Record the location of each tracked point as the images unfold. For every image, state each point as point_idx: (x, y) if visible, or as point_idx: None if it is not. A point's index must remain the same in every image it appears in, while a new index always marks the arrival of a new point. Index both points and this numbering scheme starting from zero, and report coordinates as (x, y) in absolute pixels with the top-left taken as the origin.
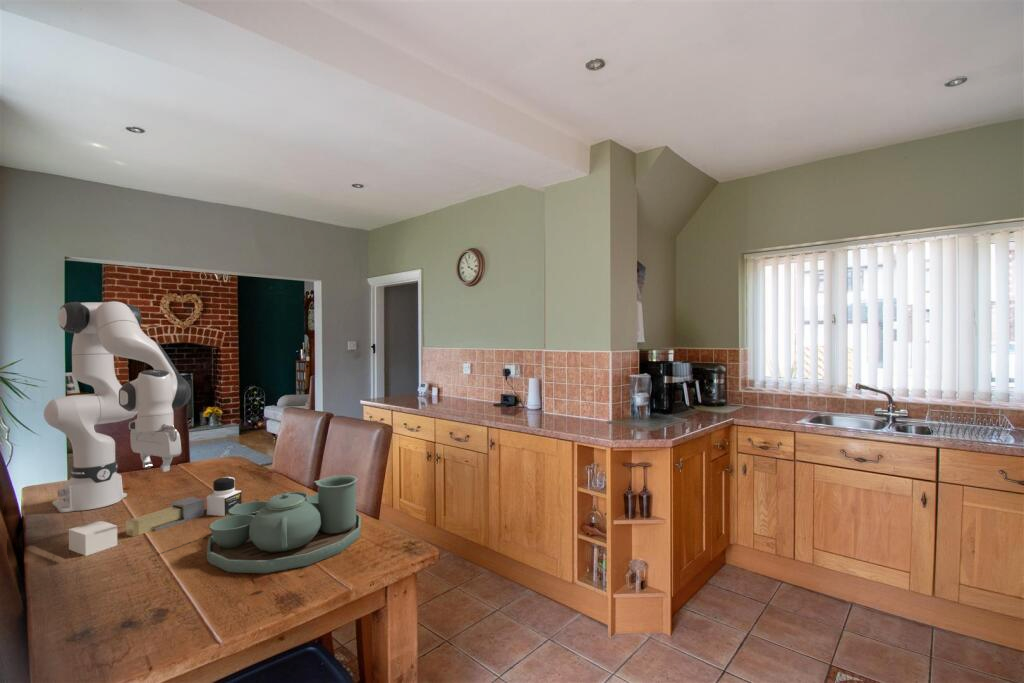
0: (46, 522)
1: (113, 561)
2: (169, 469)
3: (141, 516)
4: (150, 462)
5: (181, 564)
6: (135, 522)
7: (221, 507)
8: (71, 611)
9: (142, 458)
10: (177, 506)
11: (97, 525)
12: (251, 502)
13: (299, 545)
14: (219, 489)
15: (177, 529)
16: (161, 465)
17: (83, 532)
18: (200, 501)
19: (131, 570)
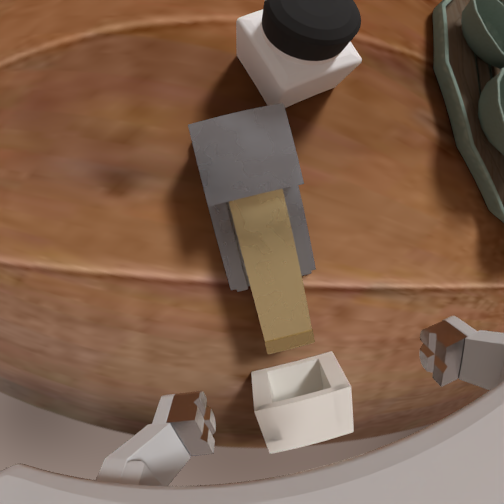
0: (25, 389)
1: (394, 359)
2: (455, 318)
3: (265, 314)
4: (200, 424)
5: (496, 269)
6: (313, 336)
7: (338, 79)
8: (482, 388)
9: (166, 483)
10: None
11: (300, 418)
12: (499, 83)
13: None
14: (340, 50)
15: (311, 210)
16: (444, 382)
17: (329, 435)
18: (287, 118)
19: None
